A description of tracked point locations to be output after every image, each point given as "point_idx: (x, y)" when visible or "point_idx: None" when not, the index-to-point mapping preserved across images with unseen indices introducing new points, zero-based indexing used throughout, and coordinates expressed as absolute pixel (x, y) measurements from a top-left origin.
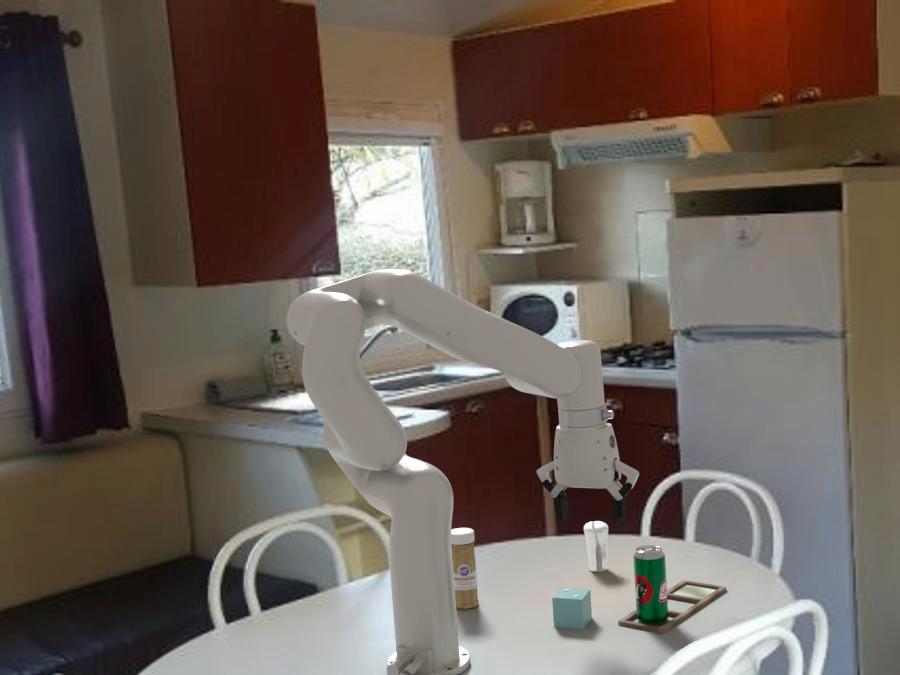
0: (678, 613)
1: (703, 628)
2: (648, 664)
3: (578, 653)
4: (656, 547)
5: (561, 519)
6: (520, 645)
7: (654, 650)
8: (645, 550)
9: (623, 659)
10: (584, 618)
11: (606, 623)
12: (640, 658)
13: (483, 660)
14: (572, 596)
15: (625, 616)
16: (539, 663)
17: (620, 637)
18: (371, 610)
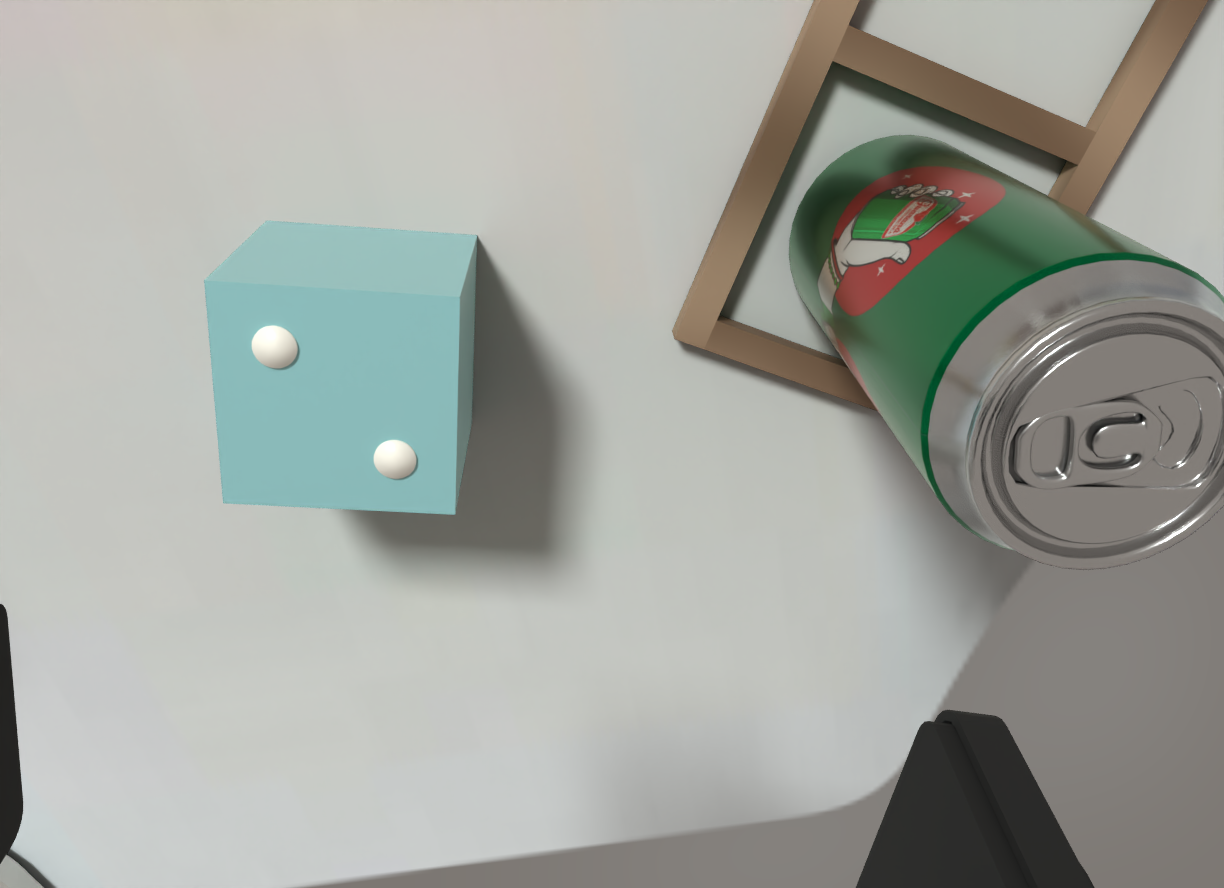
0: (1068, 151)
1: None
2: (878, 779)
3: (529, 723)
4: (1208, 374)
5: (4, 841)
6: (196, 681)
7: (903, 640)
8: (1077, 482)
9: (759, 751)
10: (468, 420)
11: (592, 317)
12: (838, 730)
13: (97, 852)
14: (366, 462)
15: (711, 253)
16: (376, 840)
17: (711, 511)
18: None
